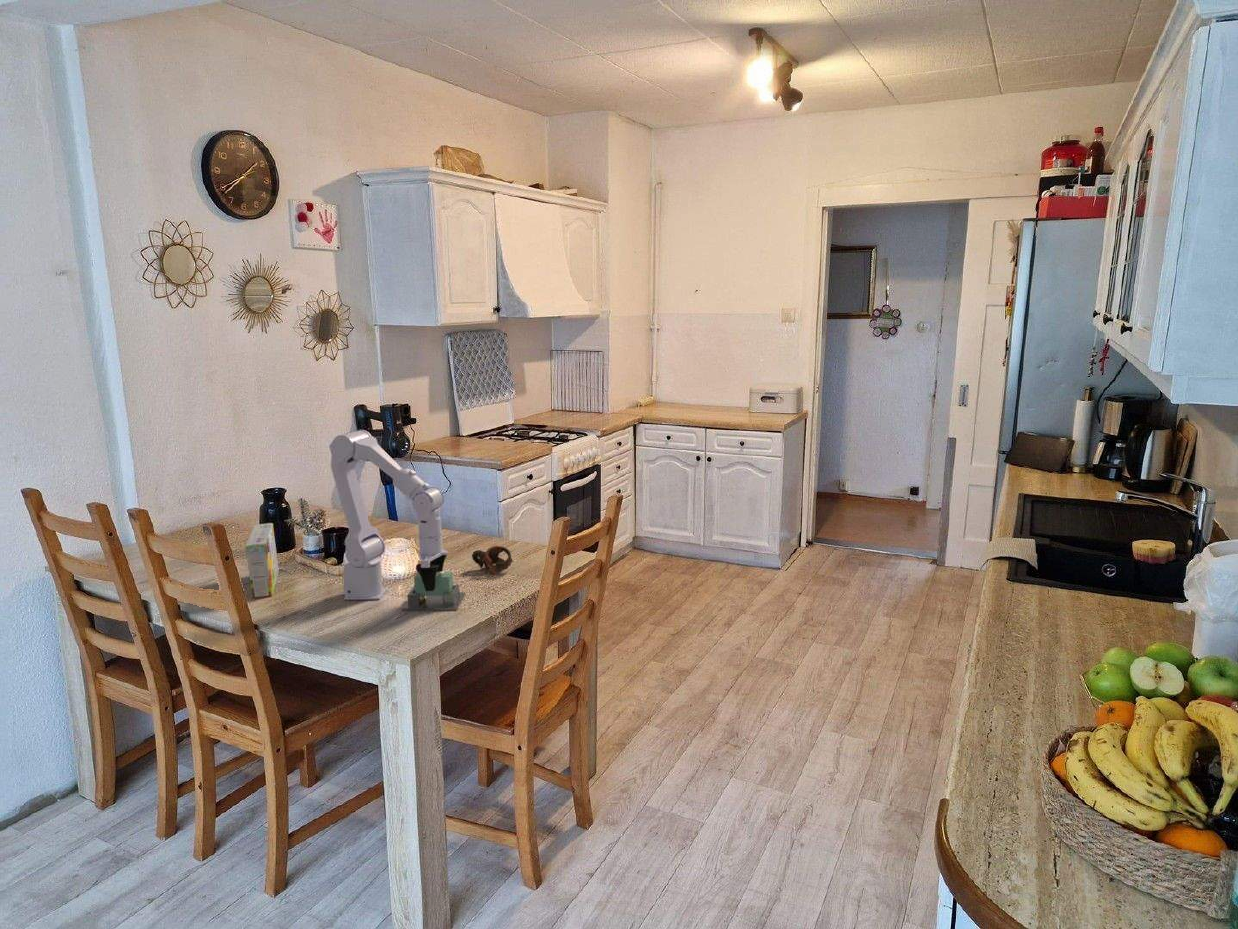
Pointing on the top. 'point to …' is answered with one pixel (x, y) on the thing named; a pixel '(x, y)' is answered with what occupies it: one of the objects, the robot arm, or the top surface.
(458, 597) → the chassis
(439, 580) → the green knobbed block
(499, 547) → the dark brown curved piece
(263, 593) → the snack box
